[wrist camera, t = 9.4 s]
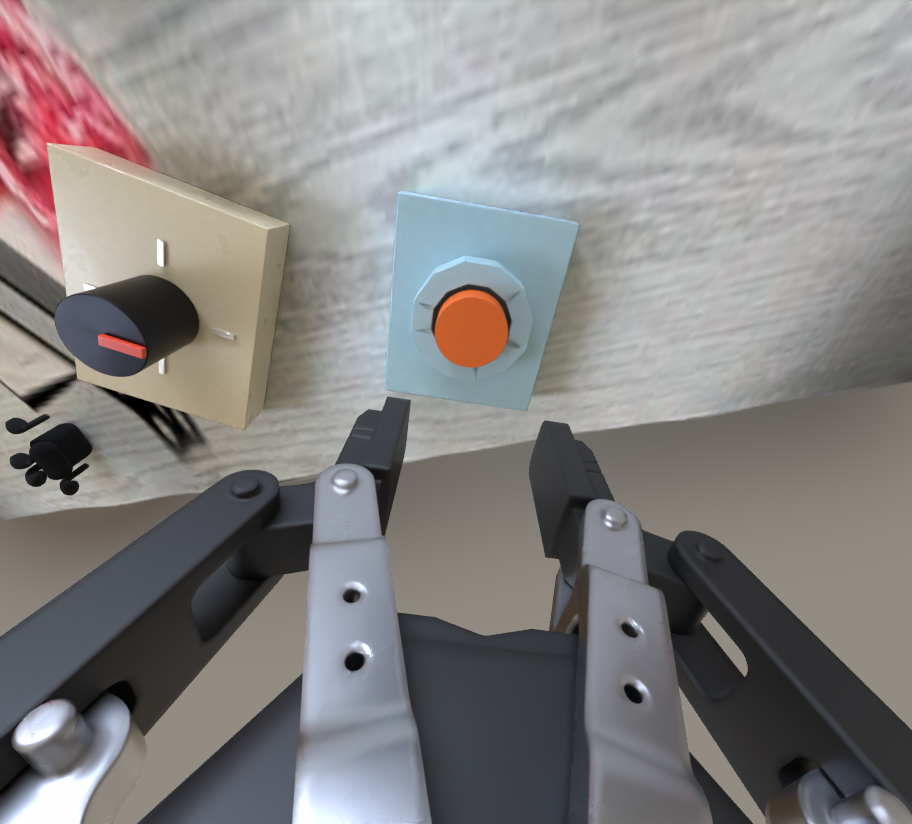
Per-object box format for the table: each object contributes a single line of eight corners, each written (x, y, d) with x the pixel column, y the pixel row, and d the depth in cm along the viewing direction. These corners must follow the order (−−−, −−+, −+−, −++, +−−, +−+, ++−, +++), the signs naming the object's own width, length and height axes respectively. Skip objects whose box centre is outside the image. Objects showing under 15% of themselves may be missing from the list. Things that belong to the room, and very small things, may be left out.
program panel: (95, 147, 22) (42, 142, 19) (290, 224, 24) (267, 229, 21) (112, 361, 29) (75, 380, 26) (263, 409, 31) (243, 432, 28)
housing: (403, 190, 23) (391, 192, 19) (571, 220, 23) (589, 227, 20) (389, 376, 29) (378, 403, 25) (523, 397, 29) (530, 425, 26)
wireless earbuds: (43, 400, 31) (-27, 436, 26) (71, 395, 30) (4, 431, 26) (98, 470, 34) (44, 511, 30) (124, 466, 34) (73, 508, 30)
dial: (125, 332, 24) (55, 363, 20) (120, 262, 22) (40, 281, 18) (199, 356, 25) (145, 391, 21) (200, 290, 23) (141, 314, 19)
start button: (441, 283, 22) (439, 291, 20) (512, 295, 22) (515, 303, 20) (433, 350, 24) (430, 362, 22) (497, 361, 24) (499, 372, 22)
